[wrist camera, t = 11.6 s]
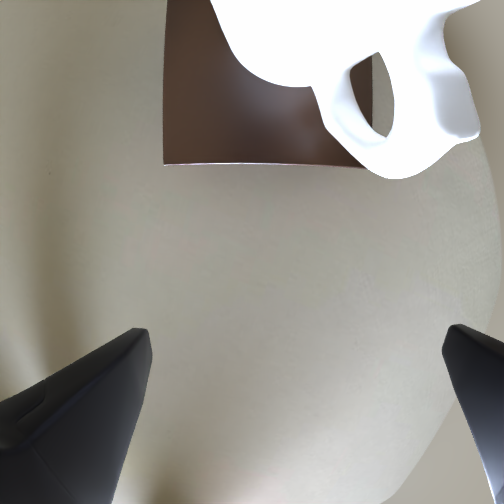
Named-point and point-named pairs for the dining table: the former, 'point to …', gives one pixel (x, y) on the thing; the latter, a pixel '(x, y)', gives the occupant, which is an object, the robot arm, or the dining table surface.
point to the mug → (351, 53)
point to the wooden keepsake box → (240, 102)
